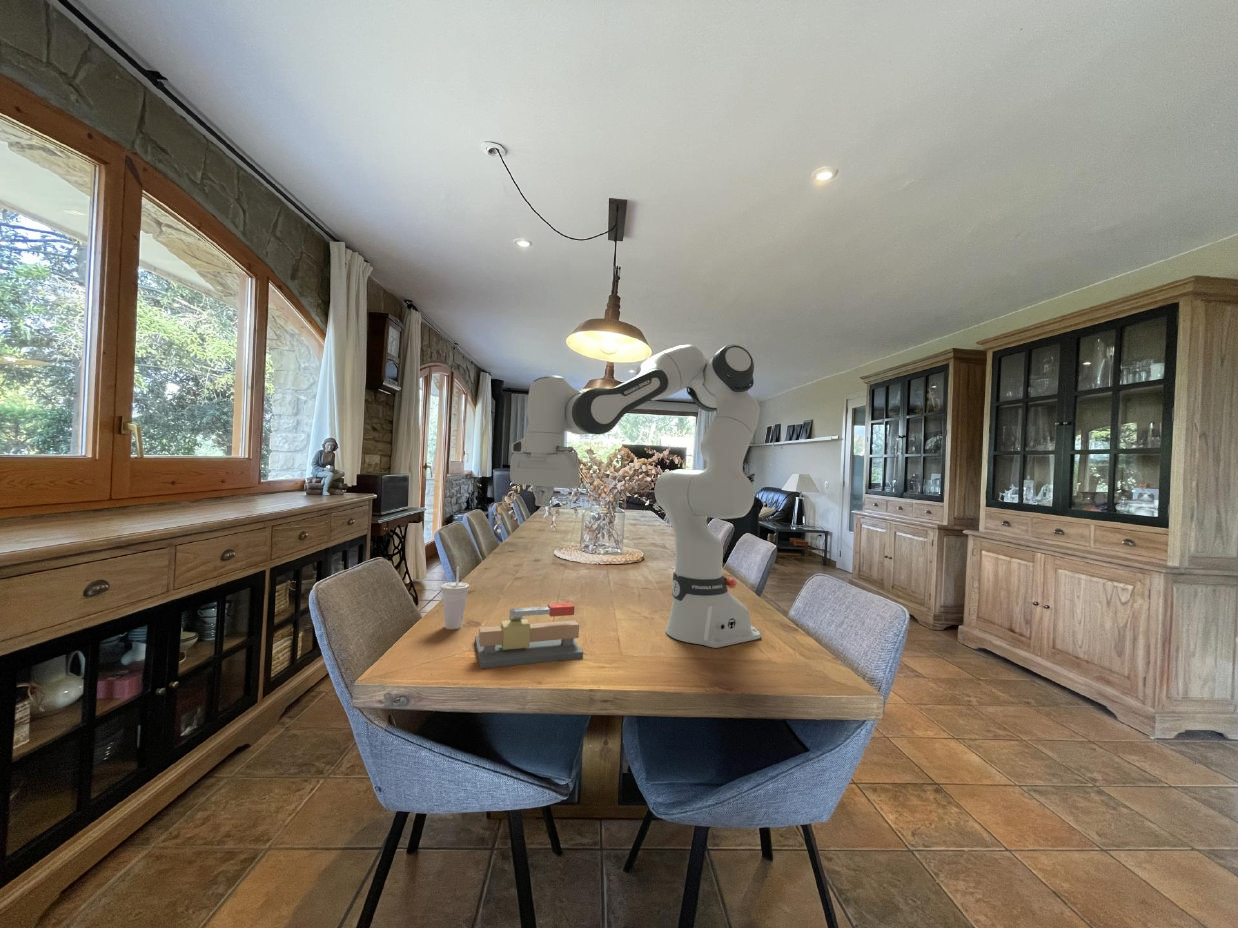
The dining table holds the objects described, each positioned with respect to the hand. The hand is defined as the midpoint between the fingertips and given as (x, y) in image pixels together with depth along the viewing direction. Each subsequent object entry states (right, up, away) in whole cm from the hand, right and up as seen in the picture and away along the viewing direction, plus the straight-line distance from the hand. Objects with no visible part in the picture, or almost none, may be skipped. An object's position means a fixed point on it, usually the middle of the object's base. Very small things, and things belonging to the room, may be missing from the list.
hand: (542, 506), depth 113 cm
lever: (+2, -22, -12) cm, 25 cm away
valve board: (-1, -29, -11) cm, 31 cm away
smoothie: (-21, -28, +1) cm, 35 cm away
